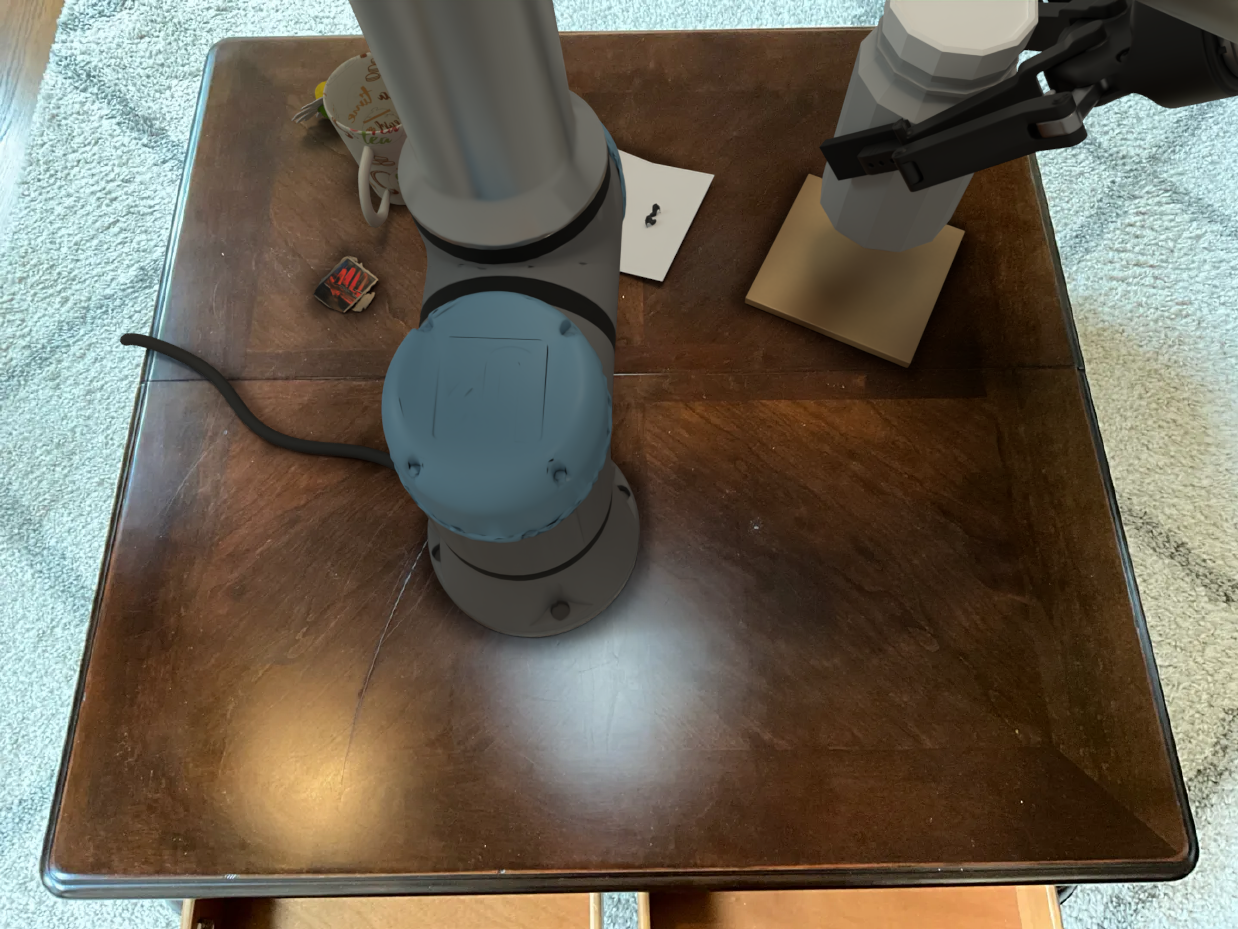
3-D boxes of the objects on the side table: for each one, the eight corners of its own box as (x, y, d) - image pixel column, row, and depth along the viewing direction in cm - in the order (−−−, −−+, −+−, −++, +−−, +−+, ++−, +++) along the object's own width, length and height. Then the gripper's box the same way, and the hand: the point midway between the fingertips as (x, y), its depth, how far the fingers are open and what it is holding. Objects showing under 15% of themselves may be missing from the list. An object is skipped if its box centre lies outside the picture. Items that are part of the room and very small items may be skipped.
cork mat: (744, 302, 72) (745, 297, 71) (807, 179, 77) (808, 172, 76) (907, 368, 70) (910, 363, 69) (962, 236, 74) (965, 230, 74)
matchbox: (309, 300, 73) (308, 297, 72) (341, 253, 74) (340, 249, 74) (359, 320, 72) (357, 317, 71) (390, 271, 74) (388, 268, 73)
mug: (460, 143, 79) (438, 53, 70) (437, 261, 74) (409, 180, 65) (369, 137, 79) (334, 47, 70) (340, 254, 74) (298, 173, 65)
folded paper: (661, 289, 73) (662, 275, 71) (529, 241, 75) (527, 226, 73) (714, 181, 77) (716, 166, 75) (587, 139, 79) (586, 122, 77)
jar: (931, 149, 68) (1027, -71, 51) (962, 255, 64) (1076, 54, 47) (805, 160, 68) (861, -57, 51) (829, 267, 64) (897, 70, 47)
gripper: (1178, 230, 40) (811, 265, 58) (1347, -54, 46) (969, 58, 65) (1128, 87, 36) (753, 173, 54) (1320, -200, 43) (927, -37, 61)
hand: (871, 111), depth 59 cm, fingers closed on jar, 10 cm apart
